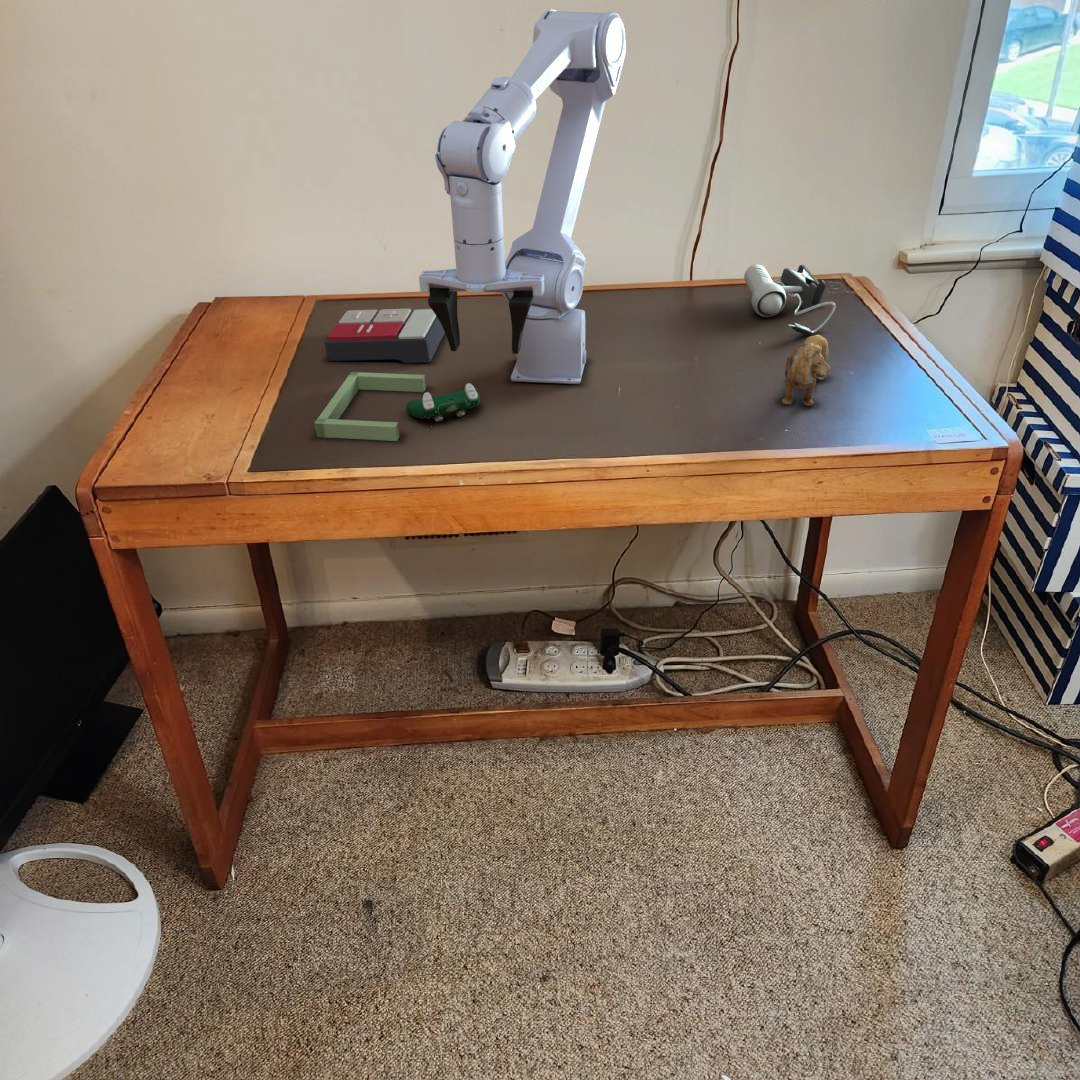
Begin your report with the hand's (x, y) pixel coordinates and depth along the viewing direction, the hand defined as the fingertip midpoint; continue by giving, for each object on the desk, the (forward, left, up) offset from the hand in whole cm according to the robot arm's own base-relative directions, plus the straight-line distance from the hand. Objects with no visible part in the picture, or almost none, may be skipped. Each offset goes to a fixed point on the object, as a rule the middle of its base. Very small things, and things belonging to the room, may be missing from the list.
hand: (485, 349), depth 109 cm
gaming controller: (+5, +1, -9) cm, 10 cm away
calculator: (+19, -19, -9) cm, 28 cm away
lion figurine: (-40, -9, -9) cm, 42 cm away
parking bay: (+14, +1, -9) cm, 17 cm away
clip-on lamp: (-40, -36, -9) cm, 54 cm away
